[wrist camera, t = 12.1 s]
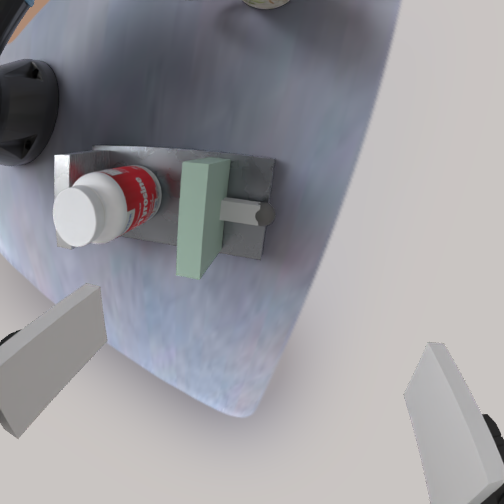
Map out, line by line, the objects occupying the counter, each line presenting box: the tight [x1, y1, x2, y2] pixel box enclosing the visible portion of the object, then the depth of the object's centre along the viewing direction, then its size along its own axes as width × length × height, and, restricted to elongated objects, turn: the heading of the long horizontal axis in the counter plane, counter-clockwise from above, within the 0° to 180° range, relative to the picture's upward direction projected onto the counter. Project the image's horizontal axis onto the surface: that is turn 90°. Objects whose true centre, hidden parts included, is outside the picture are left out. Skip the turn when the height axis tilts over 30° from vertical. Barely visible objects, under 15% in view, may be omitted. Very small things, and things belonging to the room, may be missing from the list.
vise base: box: [54, 145, 275, 260], centre depth 28 cm, size 20×10×8 cm, turn 83°
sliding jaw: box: [176, 157, 276, 280], centre depth 27 cm, size 7×9×8 cm
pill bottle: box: [53, 165, 162, 247], centre depth 26 cm, size 6×6×11 cm
